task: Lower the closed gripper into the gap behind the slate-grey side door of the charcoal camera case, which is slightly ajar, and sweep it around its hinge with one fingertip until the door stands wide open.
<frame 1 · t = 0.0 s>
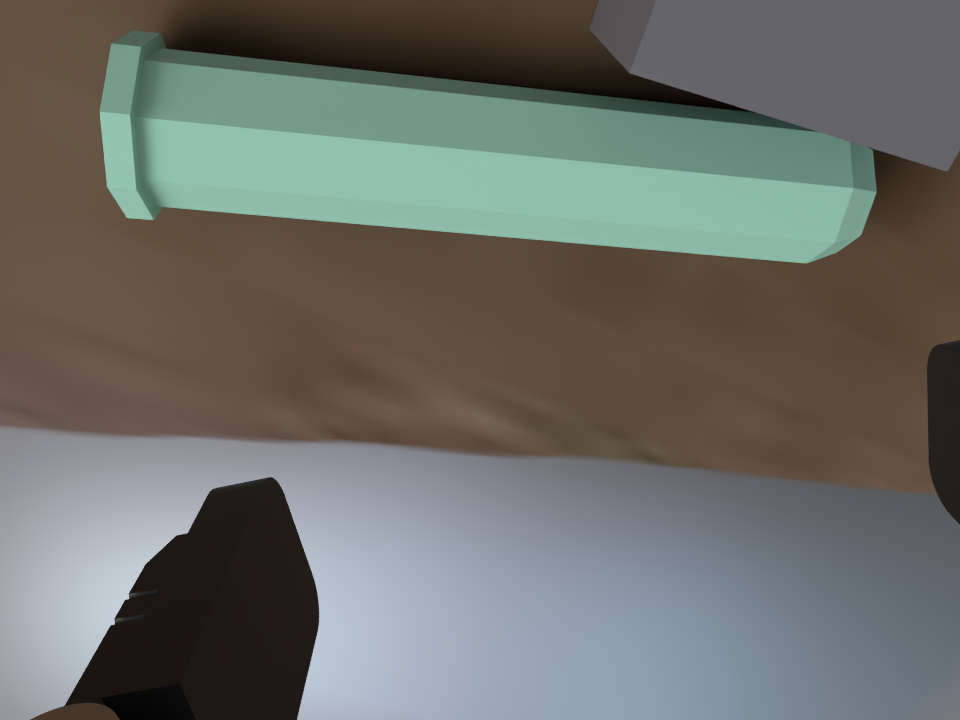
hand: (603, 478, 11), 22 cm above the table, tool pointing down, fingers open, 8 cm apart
mint green bar: (505, 142, 32), on the table
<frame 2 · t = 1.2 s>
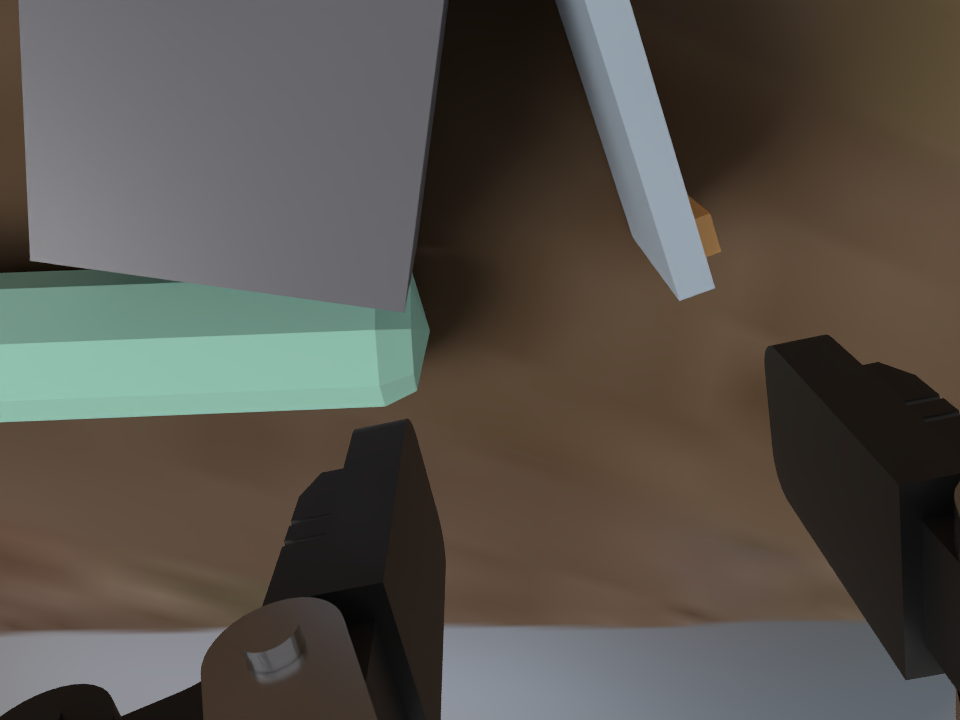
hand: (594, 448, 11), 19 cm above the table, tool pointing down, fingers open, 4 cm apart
mint green bar: (89, 320, 31), on the table
side door: (608, 22, 24), point 4 cm above the table, hinge at 30.0°
camera case: (287, 10, 27), on the table
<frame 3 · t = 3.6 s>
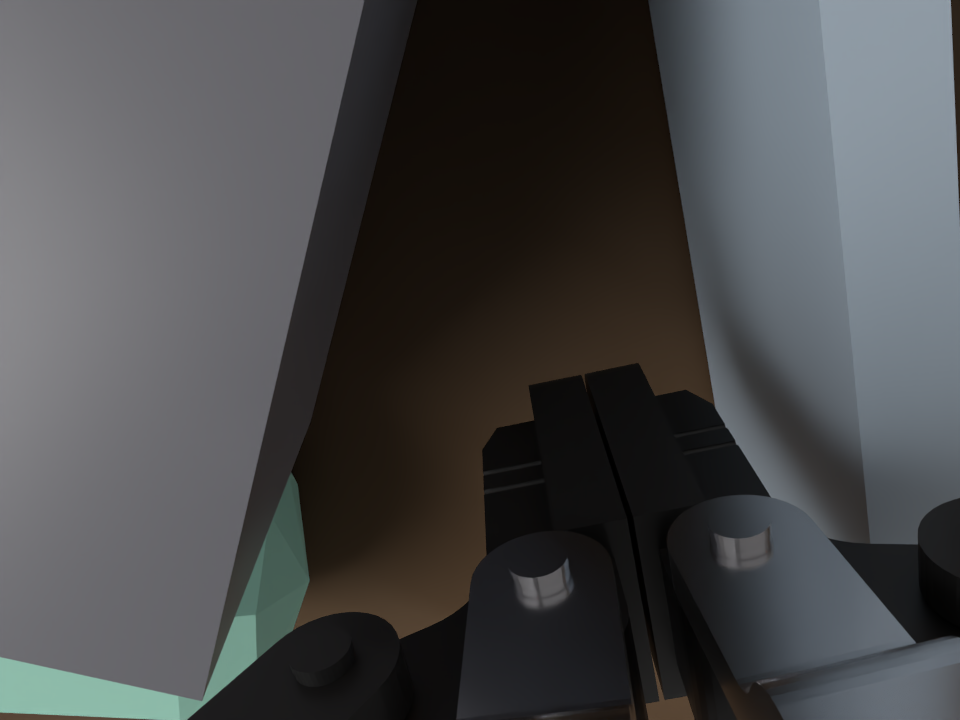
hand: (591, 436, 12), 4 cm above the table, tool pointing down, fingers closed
side door: (791, 63, 10), point 4 cm above the table, hinge at 31.1°, touching gripper
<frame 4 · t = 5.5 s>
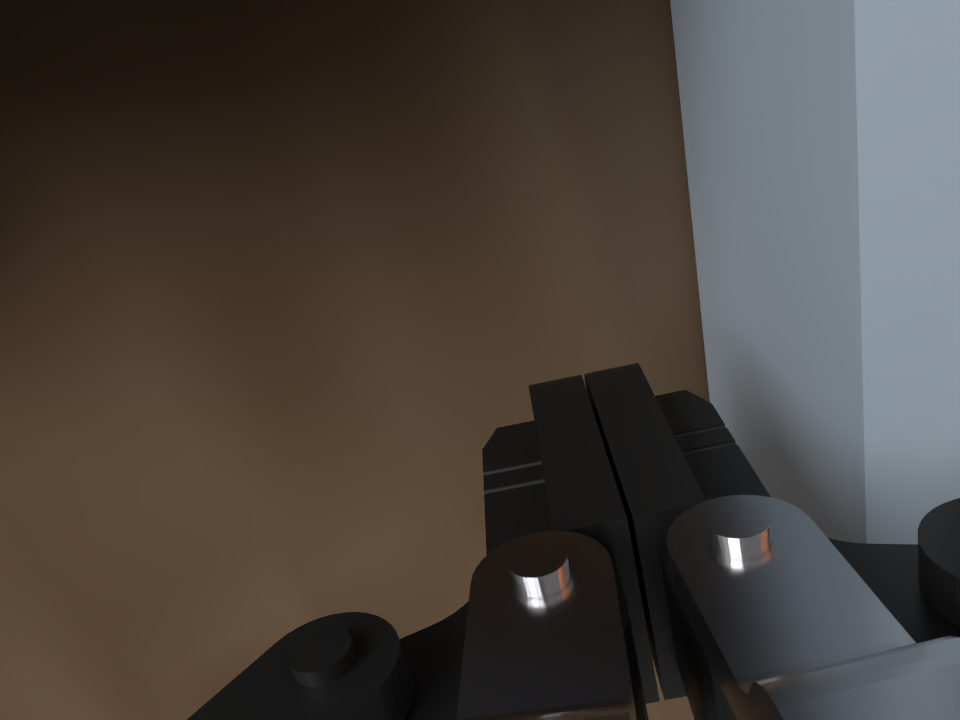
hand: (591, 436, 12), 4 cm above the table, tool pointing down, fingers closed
side door: (812, 62, 10), point 4 cm above the table, hinge at 66.2°, touching gripper
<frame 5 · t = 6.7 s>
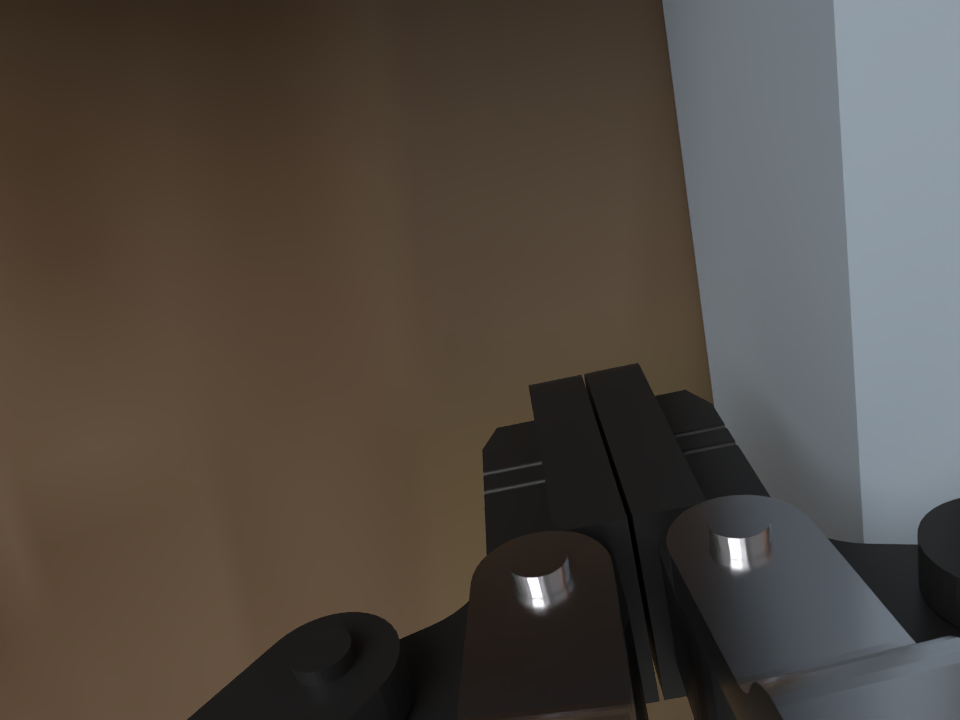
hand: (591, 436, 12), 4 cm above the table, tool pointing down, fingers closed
side door: (802, 60, 10), point 4 cm above the table, hinge at 86.6°, touching gripper
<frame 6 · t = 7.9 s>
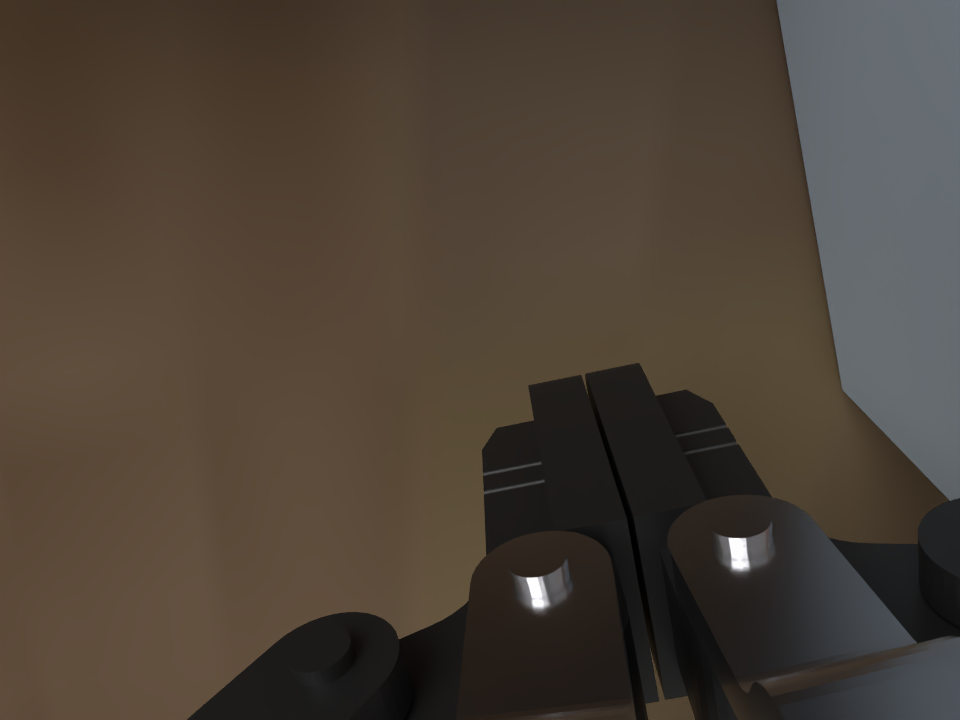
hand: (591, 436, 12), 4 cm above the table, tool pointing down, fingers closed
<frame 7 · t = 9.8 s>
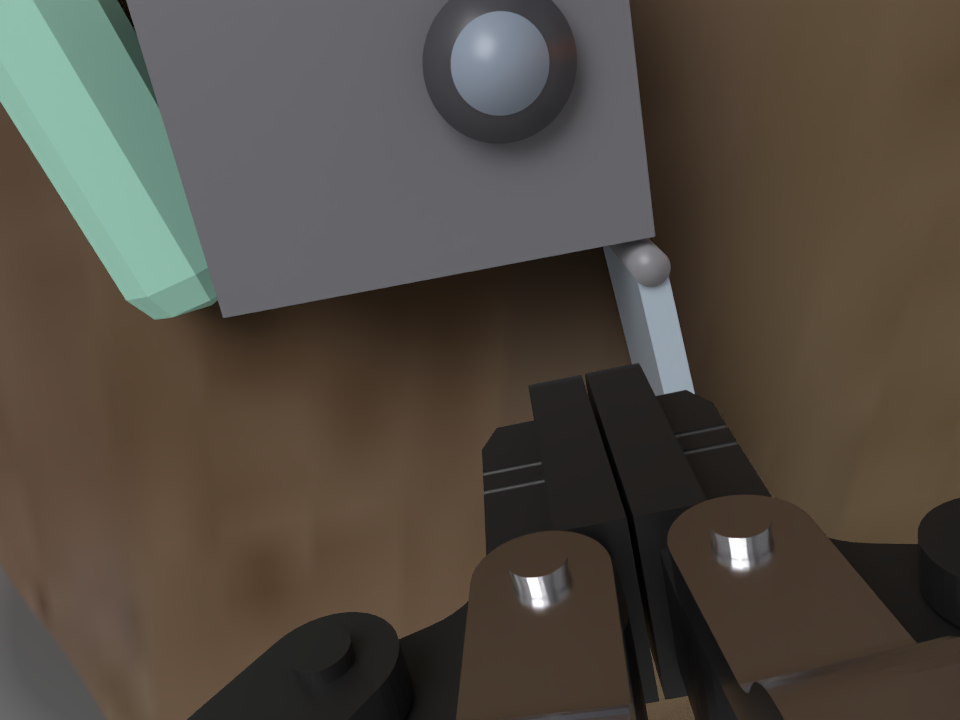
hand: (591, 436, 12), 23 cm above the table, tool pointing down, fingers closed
side door: (675, 403, 33), point 4 cm above the table, hinge at 96.1°
camera case: (412, 100, 32), on the table
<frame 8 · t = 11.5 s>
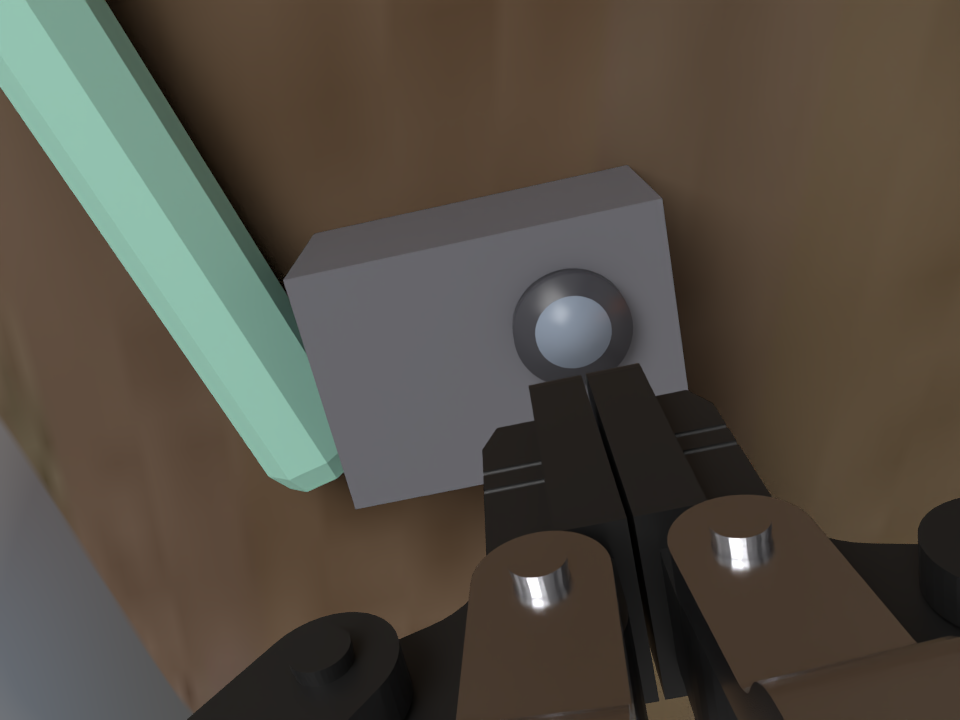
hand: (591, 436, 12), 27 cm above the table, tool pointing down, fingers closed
mint green bar: (198, 225, 38), on the table
camera case: (492, 306, 39), on the table
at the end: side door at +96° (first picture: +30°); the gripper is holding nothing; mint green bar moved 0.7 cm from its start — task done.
